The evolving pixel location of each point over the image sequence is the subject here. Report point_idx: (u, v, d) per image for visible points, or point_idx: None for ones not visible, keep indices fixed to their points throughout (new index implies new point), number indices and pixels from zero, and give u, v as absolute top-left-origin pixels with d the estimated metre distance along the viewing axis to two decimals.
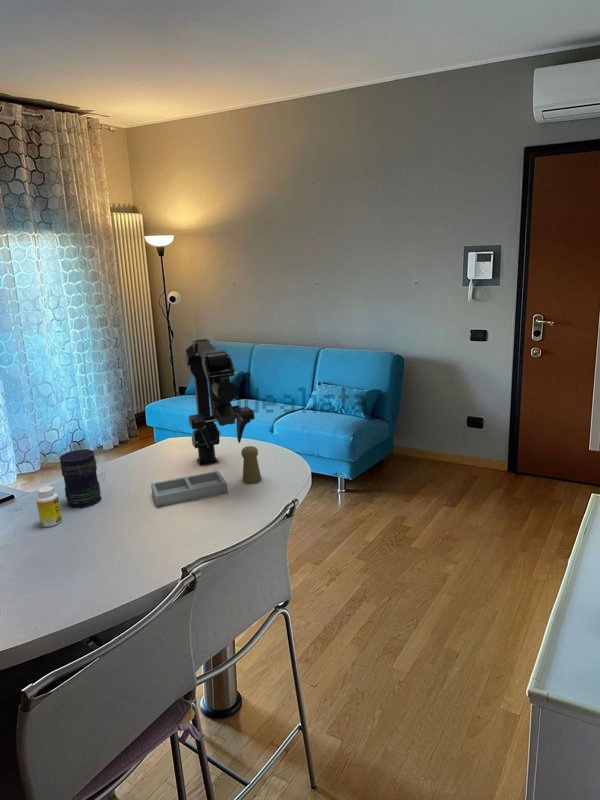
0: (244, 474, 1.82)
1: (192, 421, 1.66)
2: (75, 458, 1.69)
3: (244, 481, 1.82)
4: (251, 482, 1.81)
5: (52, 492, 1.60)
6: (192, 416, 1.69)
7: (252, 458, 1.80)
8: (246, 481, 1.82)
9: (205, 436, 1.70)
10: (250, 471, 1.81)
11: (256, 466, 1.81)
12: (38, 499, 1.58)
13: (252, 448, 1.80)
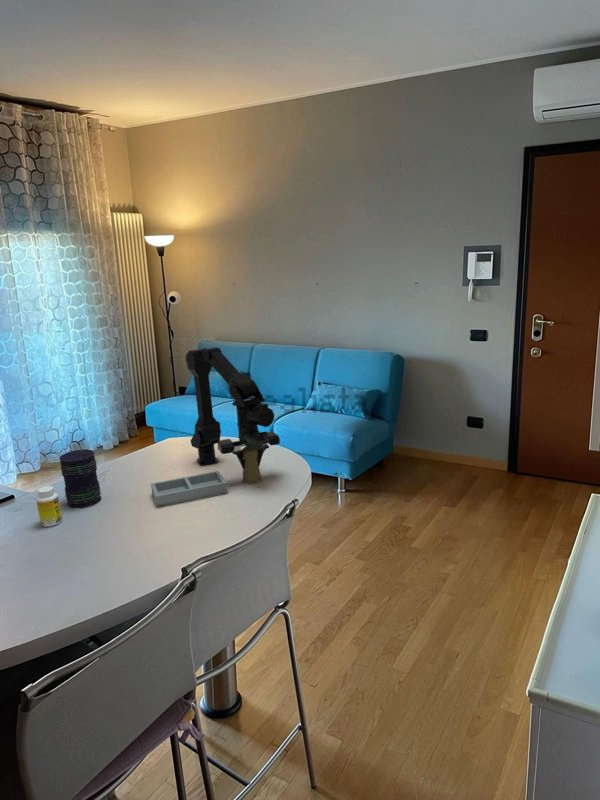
0: (244, 474, 1.82)
1: (222, 446, 1.75)
2: (75, 458, 1.69)
3: (244, 481, 1.82)
4: (251, 482, 1.81)
5: (52, 492, 1.60)
6: (221, 441, 1.78)
7: (252, 458, 1.80)
8: (246, 481, 1.82)
9: (240, 459, 1.80)
10: (250, 471, 1.81)
11: (256, 466, 1.81)
12: (38, 499, 1.58)
13: None
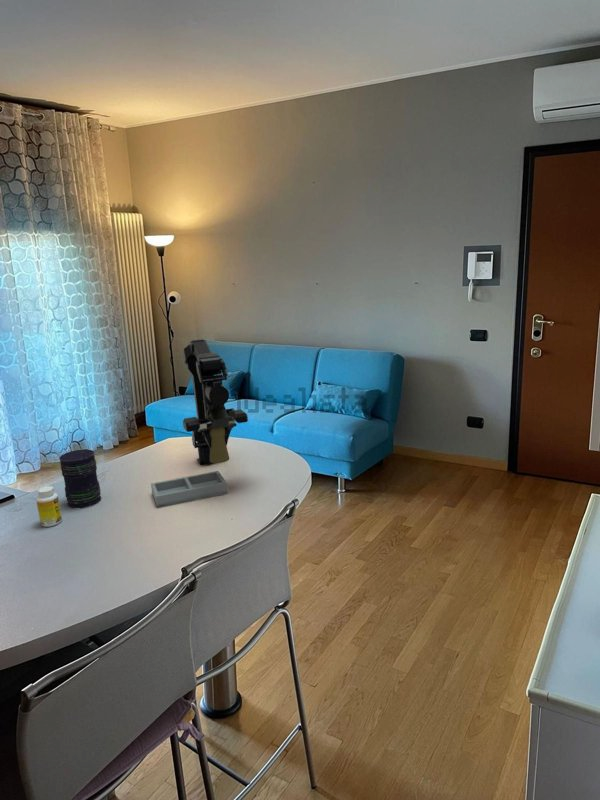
0: (211, 453, 1.76)
1: (187, 424, 1.69)
2: (75, 458, 1.69)
3: (211, 460, 1.76)
4: (218, 461, 1.75)
5: (52, 492, 1.60)
6: (186, 419, 1.72)
7: (219, 436, 1.74)
8: (213, 460, 1.76)
9: (207, 437, 1.74)
10: (218, 450, 1.75)
11: (223, 445, 1.76)
12: (38, 499, 1.58)
13: None
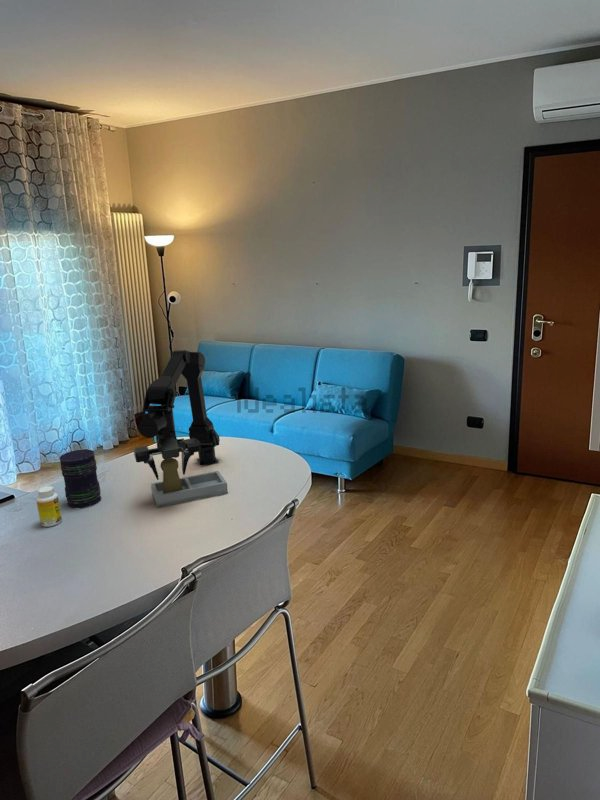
0: (164, 488, 1.72)
1: (136, 454, 1.65)
2: (75, 458, 1.69)
3: None
4: None
5: (52, 492, 1.60)
6: (137, 449, 1.68)
7: (171, 471, 1.71)
8: None
9: (153, 468, 1.69)
10: (170, 484, 1.71)
11: (176, 479, 1.72)
12: (38, 499, 1.58)
13: (171, 460, 1.71)
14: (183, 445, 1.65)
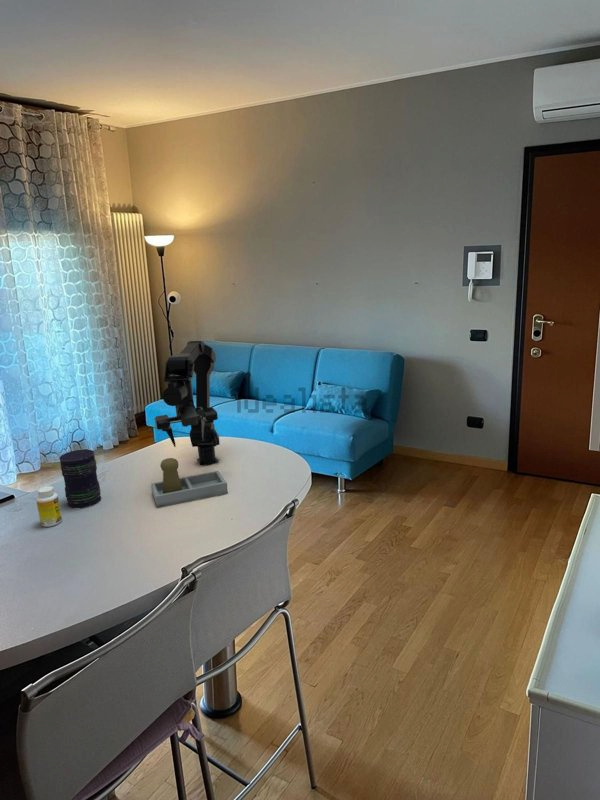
0: (164, 488, 1.72)
1: (157, 422, 1.75)
2: (75, 458, 1.69)
3: None
4: None
5: (52, 492, 1.60)
6: (158, 417, 1.78)
7: (171, 471, 1.71)
8: None
9: (170, 436, 1.79)
10: (170, 484, 1.71)
11: (176, 479, 1.72)
12: (38, 499, 1.58)
13: (171, 460, 1.71)
14: (201, 413, 1.74)
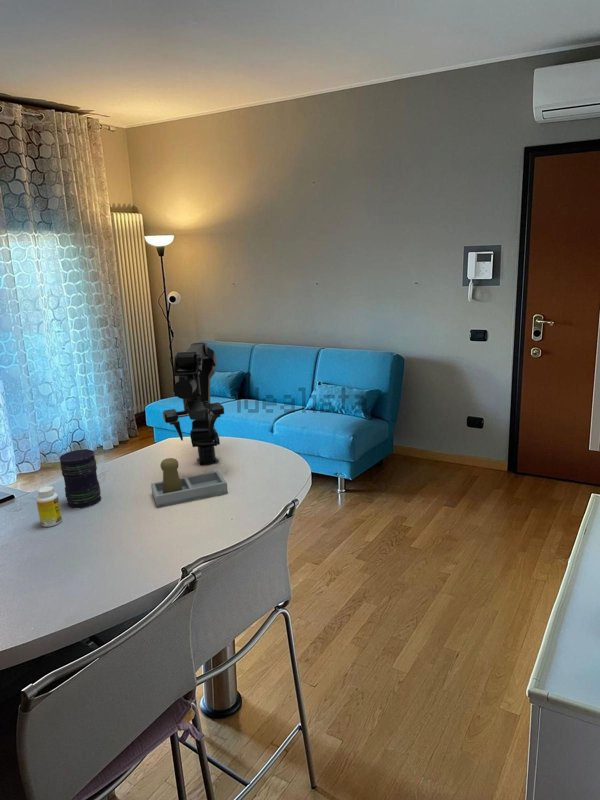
0: (164, 488, 1.72)
1: (165, 415, 1.79)
2: (75, 458, 1.69)
3: None
4: None
5: (52, 492, 1.60)
6: (166, 411, 1.82)
7: (171, 471, 1.71)
8: None
9: (178, 429, 1.83)
10: (170, 484, 1.71)
11: (176, 479, 1.72)
12: (38, 499, 1.58)
13: (171, 460, 1.71)
14: (209, 407, 1.79)
